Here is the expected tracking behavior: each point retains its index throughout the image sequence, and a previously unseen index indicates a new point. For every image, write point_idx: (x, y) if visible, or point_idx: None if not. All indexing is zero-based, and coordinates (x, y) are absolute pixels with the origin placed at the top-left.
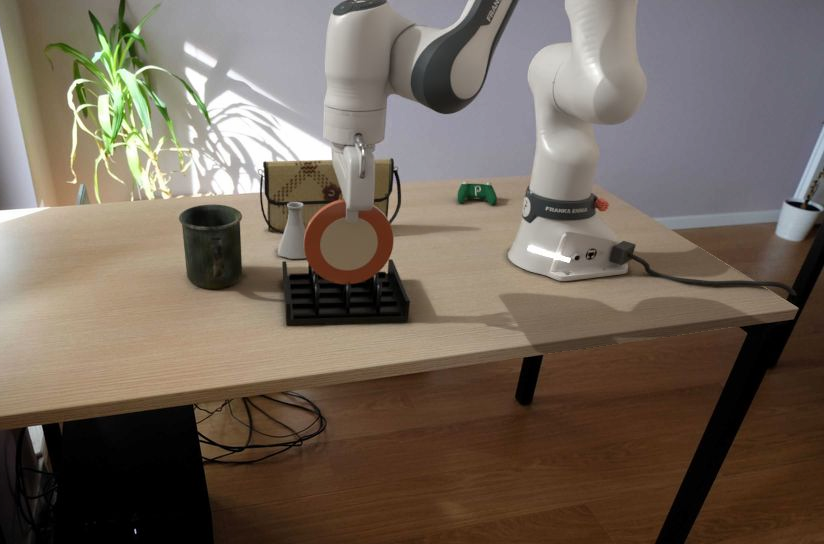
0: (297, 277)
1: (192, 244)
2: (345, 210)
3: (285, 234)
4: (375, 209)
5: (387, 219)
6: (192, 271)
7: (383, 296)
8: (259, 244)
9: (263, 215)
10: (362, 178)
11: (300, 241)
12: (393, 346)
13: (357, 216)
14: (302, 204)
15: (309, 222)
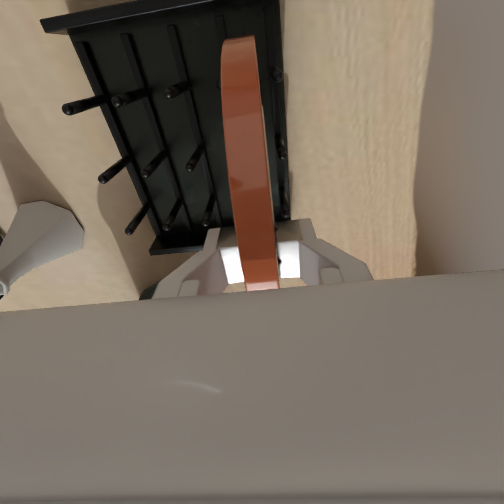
0: (158, 221)
1: None
2: (285, 273)
3: (50, 260)
4: (265, 160)
5: (249, 77)
6: None
7: (192, 52)
8: (55, 272)
9: (2, 295)
10: (185, 317)
11: (50, 233)
12: (371, 34)
13: (313, 228)
14: None
15: None
